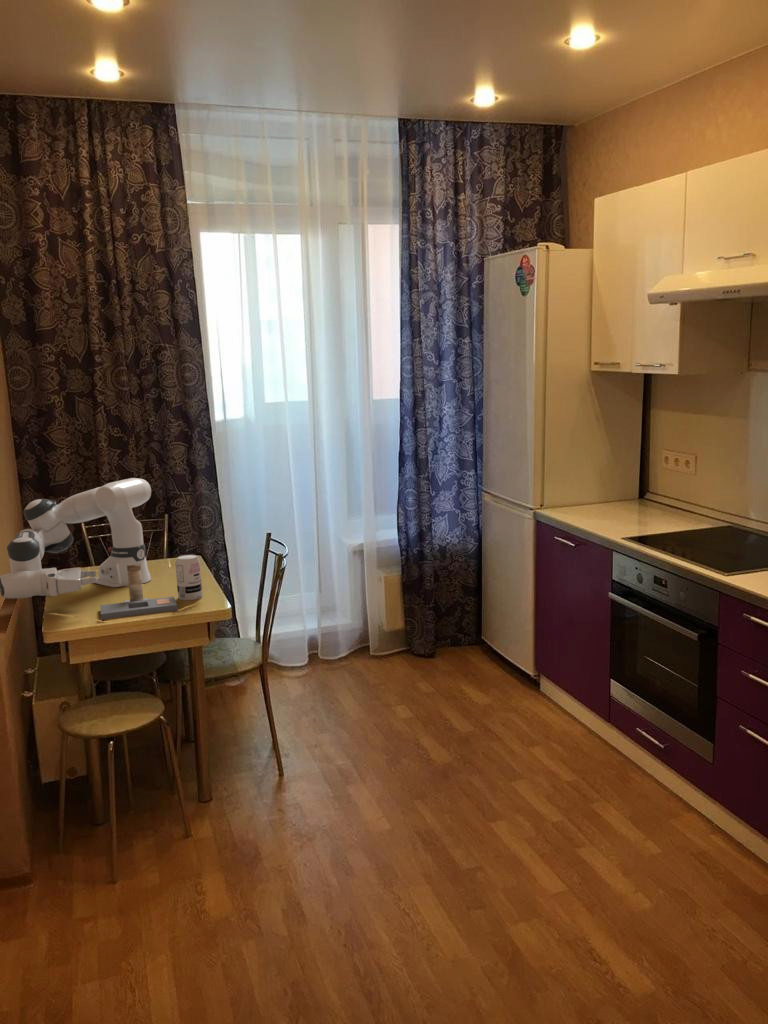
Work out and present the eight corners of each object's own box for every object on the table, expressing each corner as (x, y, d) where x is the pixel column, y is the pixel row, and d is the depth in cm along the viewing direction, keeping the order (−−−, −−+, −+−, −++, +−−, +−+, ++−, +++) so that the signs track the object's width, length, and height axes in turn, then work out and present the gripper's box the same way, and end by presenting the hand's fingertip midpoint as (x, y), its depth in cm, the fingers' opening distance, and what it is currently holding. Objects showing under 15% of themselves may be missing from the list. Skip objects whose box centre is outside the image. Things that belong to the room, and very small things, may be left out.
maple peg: (127, 602, 289) (123, 565, 287) (136, 599, 293) (133, 563, 291) (136, 604, 287) (133, 567, 285) (146, 600, 291) (143, 564, 289)
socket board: (101, 621, 271) (100, 613, 271) (100, 612, 281) (99, 604, 281) (177, 611, 279) (177, 604, 278) (174, 603, 289) (173, 595, 289)
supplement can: (182, 595, 298) (179, 554, 296) (205, 595, 298) (202, 554, 295) (174, 602, 291) (171, 559, 288) (198, 602, 290) (195, 559, 287)
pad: (125, 608, 285) (125, 606, 285) (124, 602, 293) (124, 600, 293) (149, 605, 288) (149, 603, 288) (148, 599, 295) (147, 597, 295)
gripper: (54, 583, 290) (96, 578, 294) (51, 597, 271) (96, 592, 275) (52, 565, 289) (94, 561, 293) (49, 578, 270) (95, 573, 274)
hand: (95, 576), depth 284 cm, fingers open, 8 cm apart
